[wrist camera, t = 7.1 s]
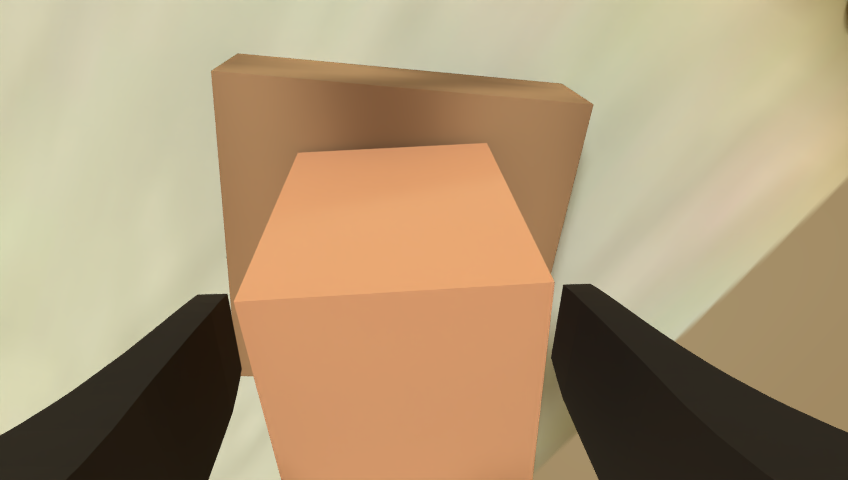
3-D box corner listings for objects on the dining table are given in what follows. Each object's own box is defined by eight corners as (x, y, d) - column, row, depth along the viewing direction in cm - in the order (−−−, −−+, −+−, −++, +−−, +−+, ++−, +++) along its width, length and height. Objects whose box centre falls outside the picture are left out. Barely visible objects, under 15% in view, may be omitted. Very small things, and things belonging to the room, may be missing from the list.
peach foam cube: (486, 142, 13) (554, 282, 8) (482, 295, 15) (531, 483, 10) (297, 152, 13) (233, 302, 7) (322, 305, 15) (287, 501, 10)
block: (556, 80, 15) (593, 104, 13) (503, 325, 20) (523, 382, 17) (242, 51, 14) (210, 70, 12) (257, 316, 18) (236, 376, 16)
